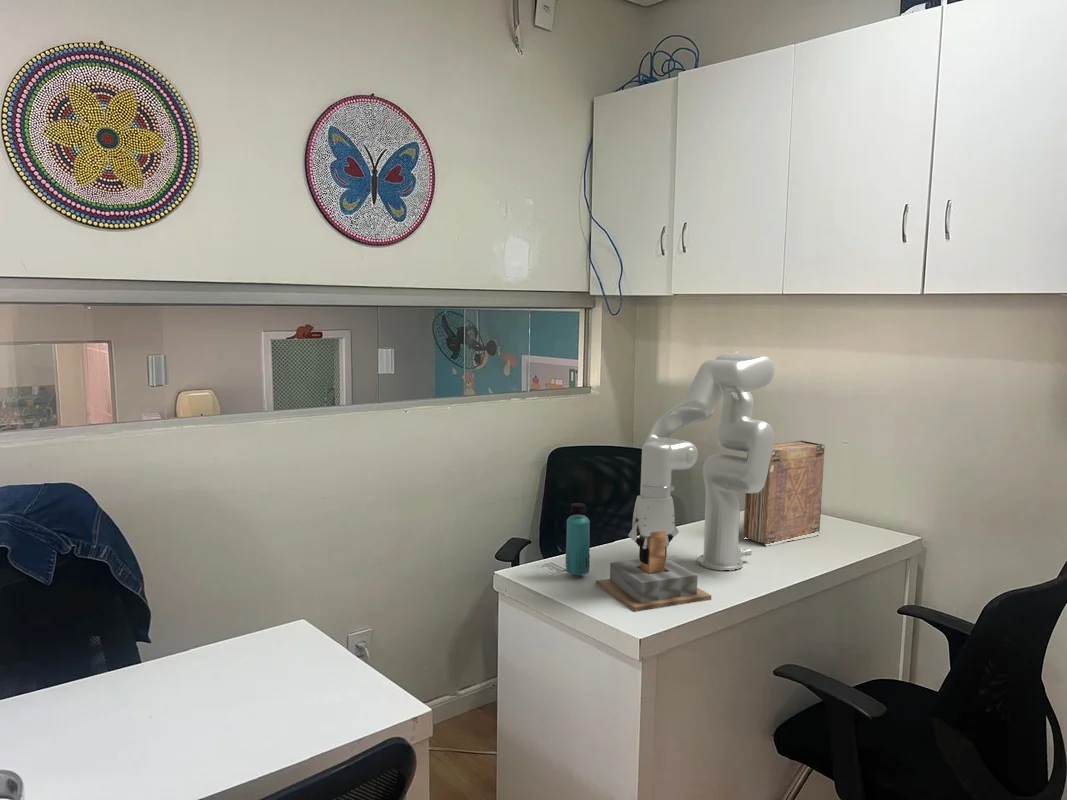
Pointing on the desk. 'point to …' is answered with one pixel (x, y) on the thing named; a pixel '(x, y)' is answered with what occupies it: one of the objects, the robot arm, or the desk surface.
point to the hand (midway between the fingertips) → (652, 560)
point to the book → (787, 494)
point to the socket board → (652, 585)
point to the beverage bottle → (578, 541)
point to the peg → (655, 553)
